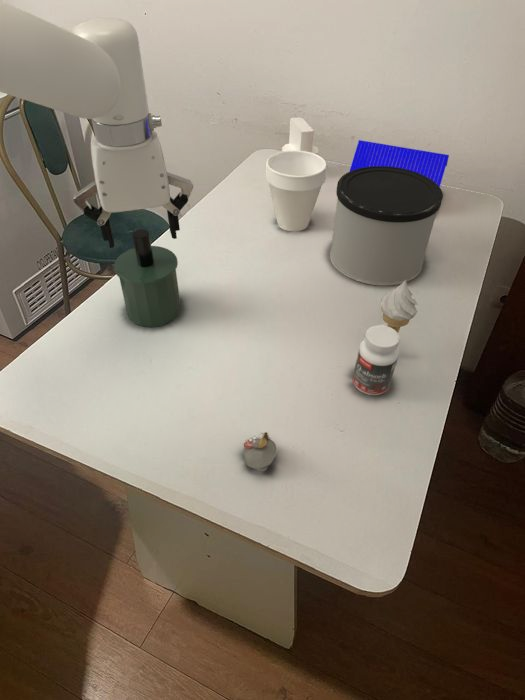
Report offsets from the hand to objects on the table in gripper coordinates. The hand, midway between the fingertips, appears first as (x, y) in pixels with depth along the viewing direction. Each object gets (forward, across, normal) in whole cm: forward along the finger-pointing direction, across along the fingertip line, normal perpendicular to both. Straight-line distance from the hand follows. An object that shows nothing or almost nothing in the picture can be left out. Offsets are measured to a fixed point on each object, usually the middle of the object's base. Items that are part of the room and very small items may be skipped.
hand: (142, 238), depth 81 cm
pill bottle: (+15, -30, +26) cm, 42 cm away
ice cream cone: (+15, -35, +21) cm, 43 cm away
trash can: (+14, 0, 0) cm, 14 cm away
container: (+15, -45, -5) cm, 47 cm away
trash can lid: (+5, 0, 0) cm, 5 cm away
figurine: (+14, -10, +35) cm, 39 cm away
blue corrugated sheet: (+15, -60, -28) cm, 67 cm away
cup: (+15, -33, -22) cm, 42 cm away
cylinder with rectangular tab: (+15, -42, -45) cm, 63 cm away
